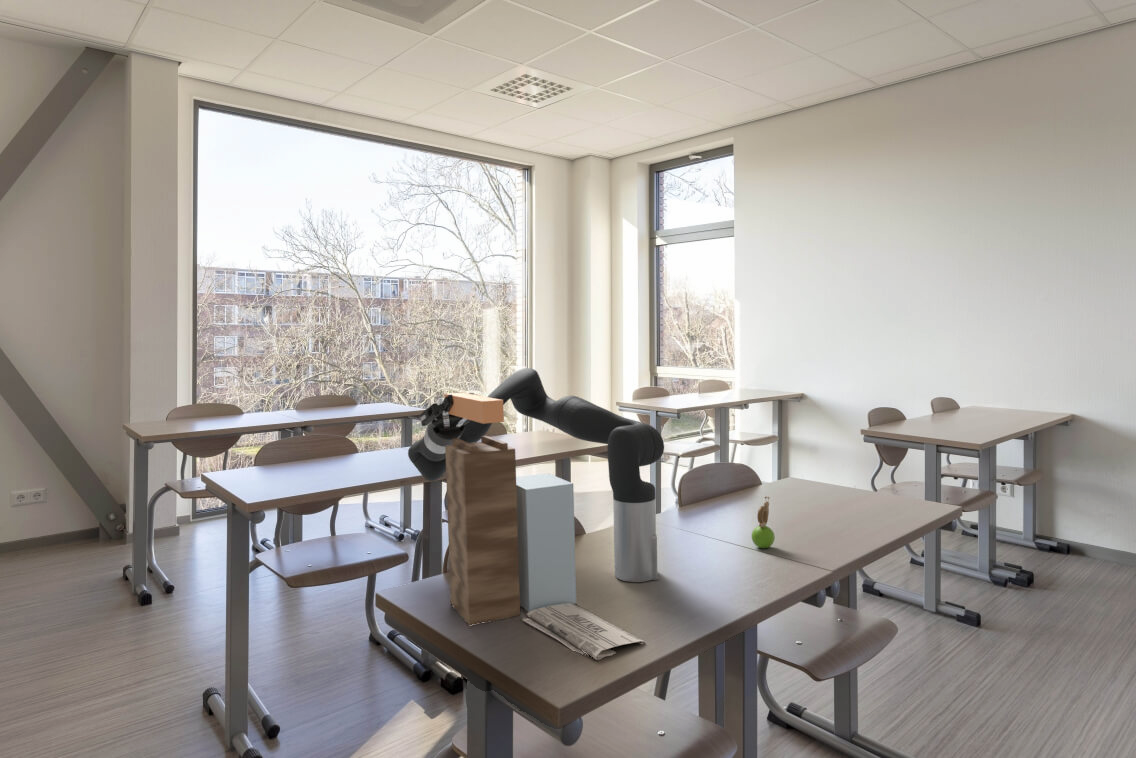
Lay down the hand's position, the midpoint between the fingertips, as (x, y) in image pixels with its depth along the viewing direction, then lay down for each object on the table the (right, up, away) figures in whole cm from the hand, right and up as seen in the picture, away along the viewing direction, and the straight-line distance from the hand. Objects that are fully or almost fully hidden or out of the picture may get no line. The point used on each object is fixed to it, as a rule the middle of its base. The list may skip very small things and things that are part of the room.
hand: (462, 397), depth 140 cm
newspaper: (+24, -42, -17) cm, 52 cm away
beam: (+3, -4, -5) cm, 7 cm away
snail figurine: (+70, -38, +29) cm, 84 cm away
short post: (+16, -41, -1) cm, 44 cm away
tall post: (+5, -41, -6) cm, 42 cm away
